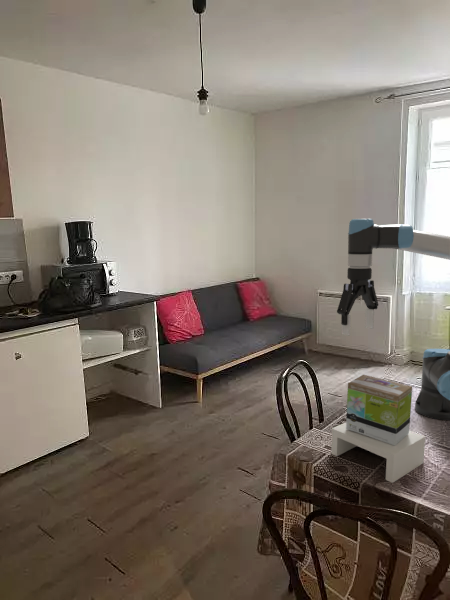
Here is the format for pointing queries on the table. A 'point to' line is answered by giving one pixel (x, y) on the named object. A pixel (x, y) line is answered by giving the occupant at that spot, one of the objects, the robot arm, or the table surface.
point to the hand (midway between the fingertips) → (357, 331)
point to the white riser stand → (383, 450)
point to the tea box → (379, 408)
